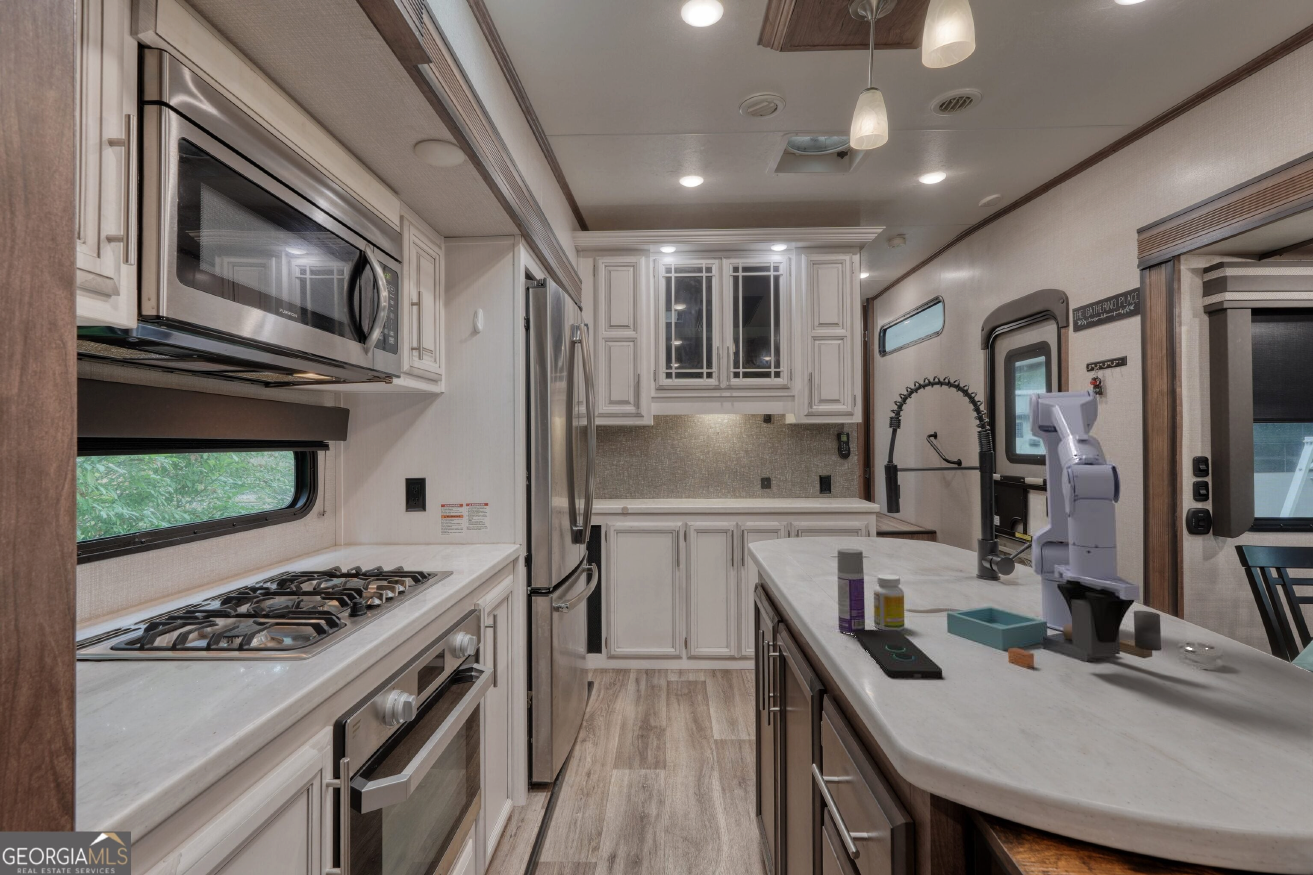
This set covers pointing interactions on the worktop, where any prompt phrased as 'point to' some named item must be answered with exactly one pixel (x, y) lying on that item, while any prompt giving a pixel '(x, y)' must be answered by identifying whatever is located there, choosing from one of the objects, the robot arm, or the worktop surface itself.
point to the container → (851, 590)
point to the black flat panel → (898, 655)
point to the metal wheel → (1200, 655)
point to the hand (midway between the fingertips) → (1095, 636)
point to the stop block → (1089, 630)
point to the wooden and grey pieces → (1056, 645)
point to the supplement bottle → (889, 603)
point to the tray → (997, 627)
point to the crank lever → (1137, 635)
